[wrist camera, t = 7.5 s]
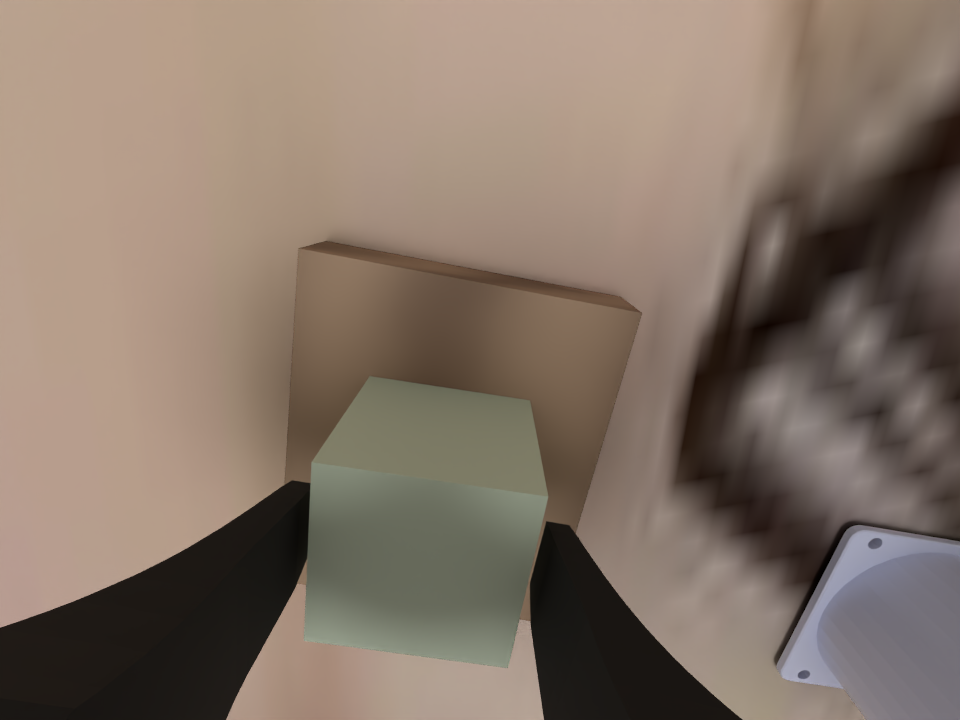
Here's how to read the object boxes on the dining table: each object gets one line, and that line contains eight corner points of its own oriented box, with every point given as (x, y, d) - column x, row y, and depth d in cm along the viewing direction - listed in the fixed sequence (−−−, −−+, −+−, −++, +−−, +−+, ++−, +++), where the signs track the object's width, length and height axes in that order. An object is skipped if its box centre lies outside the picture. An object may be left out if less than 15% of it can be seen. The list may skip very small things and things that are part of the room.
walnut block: (616, 293, 17) (642, 313, 14) (540, 564, 20) (547, 624, 18) (332, 239, 16) (298, 248, 13) (308, 526, 20) (278, 580, 17)
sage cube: (529, 400, 15) (548, 496, 10) (503, 531, 16) (507, 667, 12) (369, 376, 15) (311, 462, 10) (358, 511, 16) (303, 640, 11)
